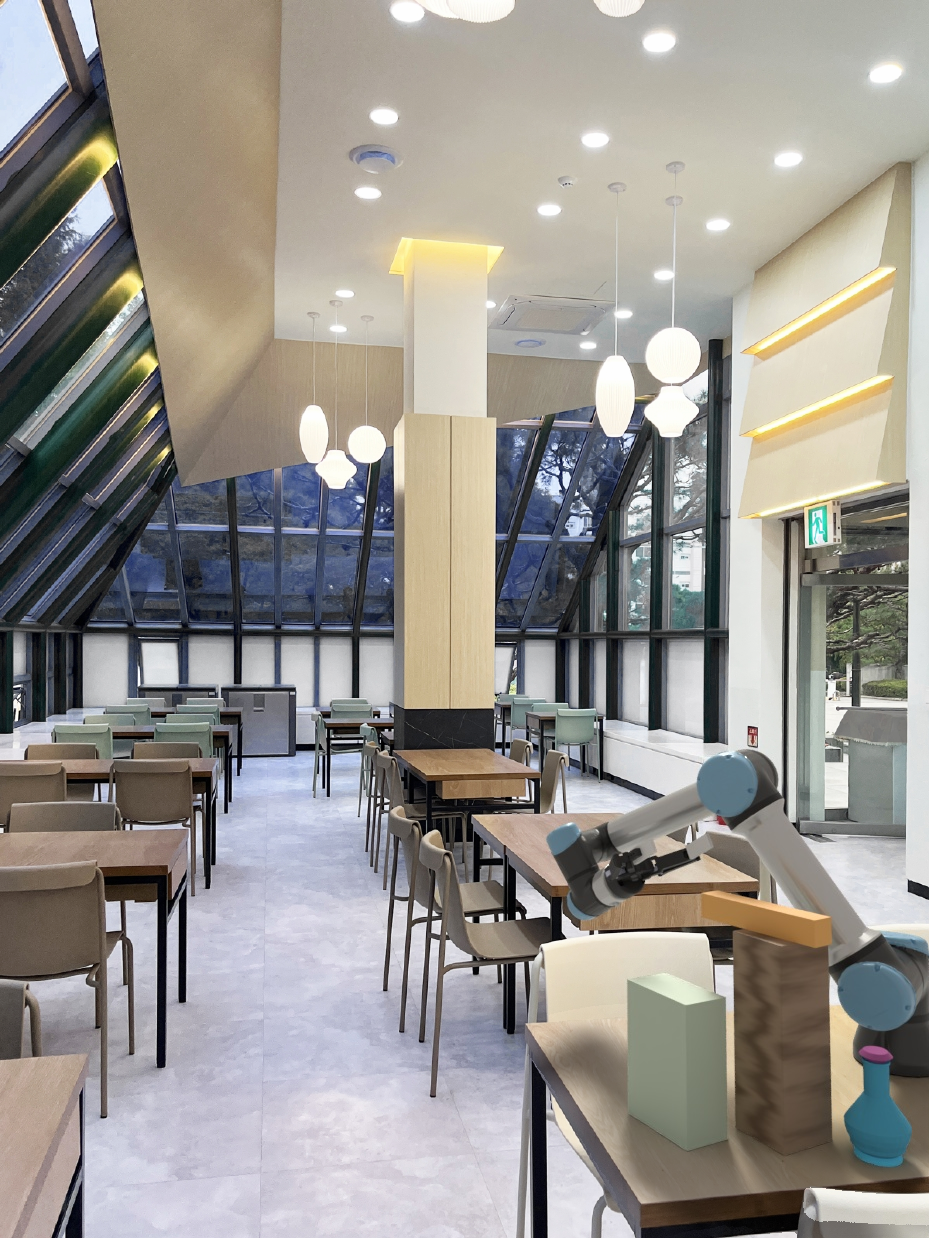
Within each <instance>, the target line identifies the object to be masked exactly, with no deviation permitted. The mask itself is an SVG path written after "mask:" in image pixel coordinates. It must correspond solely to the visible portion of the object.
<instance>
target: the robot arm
mask: <svg viewBox="0 0 929 1238" xmlns="http://www.w3.org/2000/svg"><path fill="white" fill-rule="evenodd" d="M778 787H779V773H778V771H777V768H776V766H775V764H774V762H773V761H772V760H771V759H770V758H769V757H768V756H767V755H766V754H764V753H762V752H761V751H758V750H755V749H749V748H745V749H738V750H726V751H724V750H723V751H721V752H718V753H717V754H715V755H712V756H711V757H710V758H709V757H708V759H706V761H704V762H703V763H702V765H701V767H700V768H699V771H698V773H697V777H696V782H694V783H691V784H689V785H687V786H685V787H681V788H679V789H678V790H675V791H674V792H671V793H669V794H666V795H664V796H662V797H660V798H658V799H656V800H653V801H651V802H649V803H646V804H644V805H643V806H640V807H638V808H635V809H633V810H631V811H629V812H626V813H625V814H622V815H620V816H618V817H616V818H613V819H611V820H609V821H606V822H604V823H601V824H600V825H597V826H595V827H592V828H589V829H587V830H581V829H580V828H579V826H578V825H577V824H576V823H575V822H573V821H572V822H571V821H570V822H568V823H565V824H563V825H560V826H559V827H557V828H555V829H554V830H552V831H551V832H549V833H547V836H546V837H545V838H546V843H547V845H548V848H549V849H550V854H551V855H552V857H553V859H554V860H555V862H556V864H557V866H558V868H559V870H560V872H561V873H562V876H563V877H564V879H565V881H566V883H567V886H568V888H569V890H568V892H567V896H566V902H567V903H566V904H567V908H568V910H569V912H570V913H571V914H572V916H574V917H575V918H576V919H578V920H581V921H591V920H594V919H595V918H598V917H600V916H603V915H604V914H605V913H607V912H608V911H610V910H612V909H613V908H619V907H620V906H621V903H623V902H625V901H627V900H629V899H630V898H632V897H634V896H636V895H637V894H640V892H642V890H643V889H644V887H645V885H646V884H645V883H646V881H647V880H649V879H651V878H652V877H655V876H657V877H659V878H660V877H663V876H664V875H666V874H668V873H671V872H673V871H676V870H678V869H681V868H683V867H687V866H689V865H691V864H694V863H697V862H700V861H701V860H702V858H701V855H703V854H705V853H707V852H709V850H712V849H713V848H714V847H715V846H714V843H713V840H712V839H711V835H710V833H704V834H703V835H701V836H699V837H698V838H696V839H694V840H693V841H691V842H687V843H686V845H685V848H681V849H678V850H676V851H672V852H669V853H666V854H663V855H660V856H658V855H655V854H656V853H658V851H657V847H656V843H655V840H657V839H661V838H663V837H666V836H667V835H670V834H672V833H674V832H676V831H679V830H681V829H684V828H686V827H688V826H690V825H693V824H696V823H699V822H701V821H703V820H705V819H708V818H710V817H713V816H715V815H716V816H718V817H721V819H722V820H723V821H724V823H725V825H726V826H727V827H728V829H729V830H730V831H731V833H732V834H736V835H740V836H743V838H745V839H746V840H747V842H748V843H749V845H750V846H751V848H752V849H753V851H754V852H755V854H756V855H757V856H758V858H759V860H760V859H761V861H762V862H763V864H764V865H765V867H766V868H767V869H768V871H769V872H770V876H771V877H772V878H773V880H774V881H775V882H776V883H777V886H778V887H779V888H780V889H781V891H782V892H783V894H784V896H785V897H786V898H787V900H788V901H789V903H790V904H791V906H792V908H795V909H799V910H803V911H808V912H812V913H816V914H820V915H825V916H829V917H831V931H832V944H830V945H828V954H829V976H830V977H831V978H832V980H833V981H834V982H835V984H836V985H837V986H836V987H837V989H836V990H837V992H836V993H837V996H838V997H837V998H838V1000H839V1003H840V1005H841V1007H842V1010H843V1011H844V1012H845V1013H846V1015H847V1016H848V1017H849V1018H850V1019H851V1020H852V1021H854V1022H855V1023H857V1024H858V1025H857V1028H856V1031H855V1034H854V1037H853V1038H852V1055H853V1057H854V1058H855V1059H856V1061H858V1062H859V1063H860V1064H862V1065H863V1061H862V1056H861V1055H860V1054H859V1051H860V1050H861V1049H862V1048H863V1047H865V1046H877V1047H881V1048H884V1049H886V1050H887V1051H888V1052H889V1053H890V1054H891V1055H892V1056H893V1059H891V1060H890V1065H889V1075H890V1074H891V1075H894V1076H895V1075H897V1076H903V1077H915V1078H916V1077H917V1078H918V1077H929V944H928V942H927V940H926V939H925V938H923V937H920V936H917V935H913V934H910V933H909V934H908V933H903V932H898V931H897V932H896V931H887V930H876V929H872V928H868V927H867V926H866V924H865V923H864V921H863V920H862V919H861V918H860V916H859V914H858V913H857V912H856V911H855V909H854V908H853V906H852V905H851V903H850V902H849V900H848V899H847V898H846V897H845V895H844V894H843V893H842V891H841V889H840V888H839V887H838V885H837V884H836V883H835V881H834V880H833V879H832V877H831V876H830V875H829V873H828V872H827V870H826V869H825V868H824V866H823V865H822V864H821V862H820V861H819V859H818V857H816V855H815V854H814V852H813V851H812V849H811V848H810V847H809V845H808V843H807V842H806V841H805V840H804V839H803V837H802V836H801V834H800V833H799V832H798V830H797V829H796V828H795V825H793V823H792V821H791V820H790V819H789V818H788V816H787V815H786V814H785V811H784V806H785V798H784V796H782V794H781V793H780V791H779V789H778ZM608 861H609V863H608V864H607V865H605V866H604V867H603V868H601V869H600V866H599V865H598V864H600V863H603V862H608Z"/></svg>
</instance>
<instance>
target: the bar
mask: <svg viewBox="0 0 929 1238" xmlns="http://www.w3.org/2000/svg"><path fill="white" fill-rule="evenodd" d="M700 896H701V897H700V898H701V899H700V900H701V908H700V909H701V918H703V919H706V920H711V921H713V922H714V921H715V922H717V923H722V924H724V925H728V926H732V927H735V928H740V929H747V930H750V931H754V932H758V933H762V934H765V935H769V936H773V937H776V938H780V939H784V940H787V941H791V942H795V943H799V944H802V945H806V946H810V947H813V948H818V947H822V946H826V945H830V944H832V931H831V917H829V916H825V915H820V914H816V913H812V912H808V911H803V910H799V909H795V908H794V907H790V906H786V905H781V904H777V903H773V902H771V903H769V902H765V901H761V900H760V899H756V898H751V897H747V896H744V895H743V896H742V895H739V894H735V893H731V892H726V891H722V890H718V889H716V890H711V891H706V892H705V891H704V892H701V893H700Z"/></svg>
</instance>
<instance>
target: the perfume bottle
mask: <svg viewBox="0 0 929 1238" xmlns="http://www.w3.org/2000/svg"><path fill="white" fill-rule="evenodd" d="M859 1054H860V1055H861V1056H862V1061H863V1064H862V1078H863V1079H862V1081H863V1083H862V1084H863V1091H862V1092H861V1093H860V1095H859V1096H858V1097H857V1099H856V1100H855V1101H854V1102H853V1103H852V1104H851V1105H850V1106H849V1108H848V1109H847V1110H846V1111H845V1112H844V1115H843V1121H844V1126H845V1130H846V1132H847V1134H848V1136H849V1141H850V1143H851V1145H853V1153H854V1155H855V1156H856V1157H857V1158H858V1159H859V1160H860V1161H863V1162H865V1163H868V1164H870V1163H872V1164H871V1165H873V1164H874V1165H873V1166H878V1167H882V1166H883V1167H884V1168H894V1167H898V1166H900V1165H902V1164H903V1161H904V1157H903V1155H905V1153H907V1147H908V1145H909V1144H910V1142H911V1139H912V1138H911V1137H912V1133H913V1132H912V1131H913V1127H912V1125H911V1123H910V1122H909V1120H908V1119H907V1117H906V1116H905V1115H904V1113H903V1112H902V1111H901V1109H900V1108H899V1107H898V1105H897V1103H896V1102H895V1101H894V1099H893V1098H892V1096H891V1092H890V1073H889V1065H890V1060H891V1059H893V1056H892V1055H891V1054H890V1053H889V1052H888V1051H887V1050H886V1049H884V1048H881V1047H877V1046H865V1047H863V1048H862V1049H861V1050H860V1051H859ZM901 1163H902V1164H901Z"/></svg>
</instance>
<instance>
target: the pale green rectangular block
mask: <svg viewBox="0 0 929 1238" xmlns="http://www.w3.org/2000/svg"><path fill="white" fill-rule="evenodd" d="M626 984H627V985H626V986H627V987H626V991H627V994H626V995H627V996H626V997H627V1005H626V1006H627V1007H626V1009H627V1013H626V1014H627V1021H626V1022H627V1030H626V1031H627V1114H629V1115H630V1116H631V1117H633V1118H635V1119H637V1120H638V1121H639V1122H641V1123H643V1124H644V1125H646V1126H648V1127H649V1128H650V1129H652V1130H653V1131H655V1133H656V1132H657V1133H658V1134H660V1135H661V1136H663V1137H664V1138H666V1139H668V1140H669V1141H671V1142H672V1143H674V1144H675V1145H677V1146H678V1147H680V1148H681V1149H683V1150H684V1151H686V1152H689V1151H692V1150H693V1151H694V1150H697V1149H700V1148H703V1147H706V1146H707V1147H708V1146H711V1145H713V1144H716V1143H717V1144H718V1143H720V1142H723V1141H728V1137H729V1135H728V1133H729V1132H728V1078H727V1077H728V1071H727V1070H728V1068H727V1065H728V1062H727V1059H728V1058H727V1053H728V1051H727V997H726V996H723V995H721V994H719V993H716V992H714V991H711V990H709V989H707V988H704V987H702V986H699V985H696V984H694V983H692V982H689V981H687V980H684V979H682V978H680V977H677V976H675V975H673V974H669V973H668V972H662V973H655V974H650V975H643V976H639V977H634V978H633V977H632V978H627V982H626Z"/></svg>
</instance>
